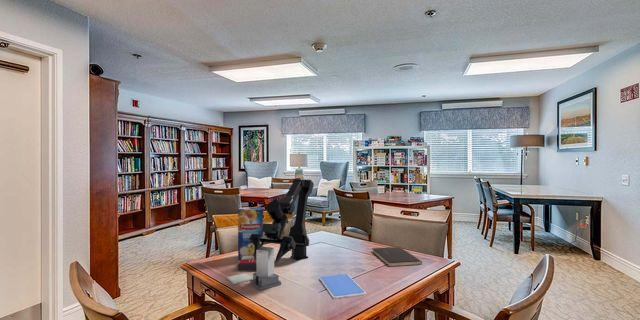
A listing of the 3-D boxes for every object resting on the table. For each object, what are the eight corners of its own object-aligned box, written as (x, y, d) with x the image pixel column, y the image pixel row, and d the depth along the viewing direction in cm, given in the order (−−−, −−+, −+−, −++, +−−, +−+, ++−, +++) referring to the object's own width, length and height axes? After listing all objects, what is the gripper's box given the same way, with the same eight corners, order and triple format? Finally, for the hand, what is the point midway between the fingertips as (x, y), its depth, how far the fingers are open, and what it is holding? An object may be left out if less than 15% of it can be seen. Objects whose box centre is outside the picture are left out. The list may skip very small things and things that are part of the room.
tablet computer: (366, 296, 111) (366, 292, 111) (333, 300, 107) (333, 296, 107) (347, 276, 130) (347, 273, 130) (318, 279, 126) (318, 276, 126)
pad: (245, 274, 131) (245, 273, 131) (252, 280, 125) (252, 278, 125) (227, 278, 126) (227, 277, 126) (233, 284, 120) (233, 283, 120)
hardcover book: (388, 267, 140) (388, 262, 140) (372, 252, 163) (372, 248, 163) (422, 265, 143) (421, 260, 143) (400, 251, 165) (400, 246, 165)
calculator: (242, 255, 146) (274, 253, 147) (242, 264, 146) (274, 262, 147) (237, 263, 135) (272, 260, 136) (237, 273, 135) (272, 270, 136)
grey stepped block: (263, 271, 124) (262, 246, 124) (274, 273, 123) (274, 247, 123) (253, 278, 117) (253, 251, 117) (265, 280, 116) (264, 253, 116)
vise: (270, 277, 127) (270, 262, 127) (281, 284, 120) (281, 269, 120) (250, 282, 122) (250, 267, 122) (259, 290, 115) (259, 274, 115)
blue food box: (263, 253, 159) (263, 207, 159) (263, 258, 152) (263, 209, 152) (239, 255, 157) (239, 207, 157) (237, 259, 150) (237, 210, 150)
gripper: (251, 213, 129) (236, 247, 119) (292, 216, 123) (280, 252, 113) (261, 229, 137) (247, 261, 126) (300, 232, 131) (289, 266, 120)
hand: (265, 260), depth 121 cm, fingers open, 9 cm apart
